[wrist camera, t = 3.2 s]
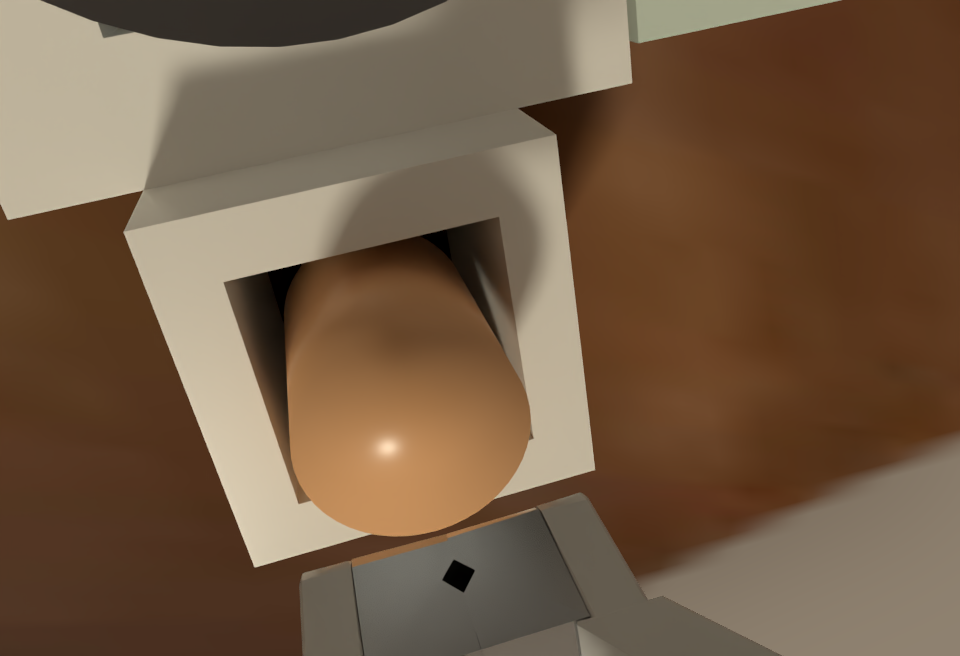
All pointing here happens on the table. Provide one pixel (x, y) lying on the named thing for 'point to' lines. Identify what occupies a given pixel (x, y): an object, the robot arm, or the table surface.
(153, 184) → the housing
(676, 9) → the mat
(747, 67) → the table surface
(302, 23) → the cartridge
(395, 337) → the release button
